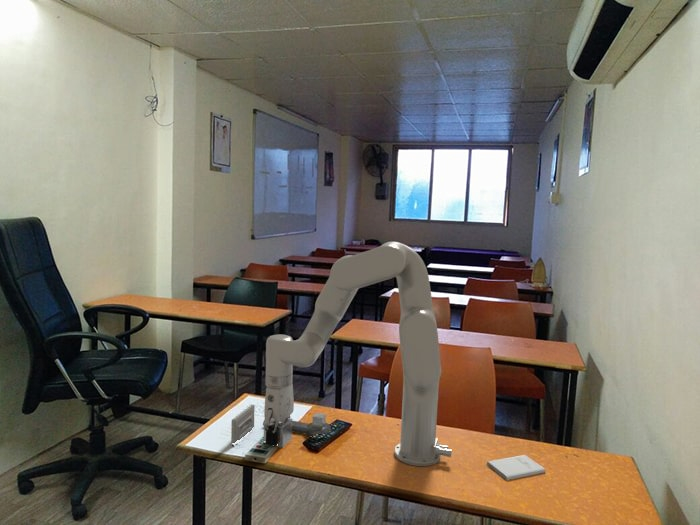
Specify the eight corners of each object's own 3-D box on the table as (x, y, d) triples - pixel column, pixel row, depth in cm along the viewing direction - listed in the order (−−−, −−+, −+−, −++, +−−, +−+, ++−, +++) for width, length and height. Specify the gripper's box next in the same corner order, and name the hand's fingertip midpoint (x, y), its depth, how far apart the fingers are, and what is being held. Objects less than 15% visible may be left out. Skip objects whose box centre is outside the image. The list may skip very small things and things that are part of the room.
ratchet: (262, 428, 149) (262, 410, 149) (272, 419, 156) (273, 402, 155) (325, 440, 143) (326, 422, 142) (333, 430, 150) (334, 412, 149)
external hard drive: (486, 466, 133) (523, 459, 137) (506, 482, 125) (545, 474, 130) (486, 460, 133) (524, 453, 137) (507, 476, 125) (545, 468, 130)
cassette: (250, 428, 149) (250, 403, 149) (255, 429, 149) (256, 404, 148) (229, 446, 138) (229, 419, 137) (235, 447, 137) (235, 420, 137)
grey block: (291, 438, 144) (292, 418, 143) (282, 447, 138) (283, 427, 137) (273, 434, 145) (273, 415, 145) (263, 443, 140) (263, 423, 139)
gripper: (277, 391, 130) (275, 455, 132) (303, 371, 147) (302, 428, 149) (251, 387, 133) (251, 450, 134) (280, 368, 149) (279, 424, 151)
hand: (277, 438), depth 142 cm, fingers open, 7 cm apart
